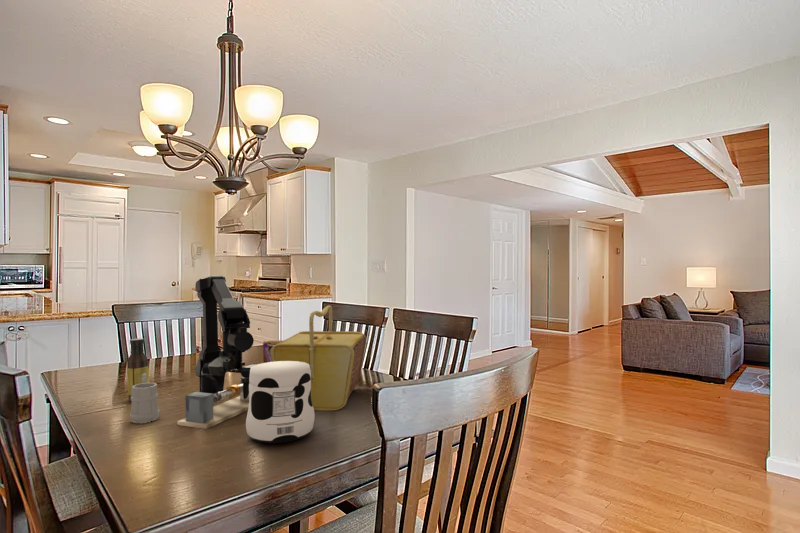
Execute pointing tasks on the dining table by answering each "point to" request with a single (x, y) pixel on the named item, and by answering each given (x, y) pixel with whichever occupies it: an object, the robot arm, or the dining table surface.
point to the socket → (199, 407)
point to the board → (220, 413)
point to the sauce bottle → (136, 364)
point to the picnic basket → (326, 361)
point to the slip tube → (228, 392)
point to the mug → (144, 402)
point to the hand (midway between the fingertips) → (232, 397)
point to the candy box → (268, 349)
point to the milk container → (279, 402)
